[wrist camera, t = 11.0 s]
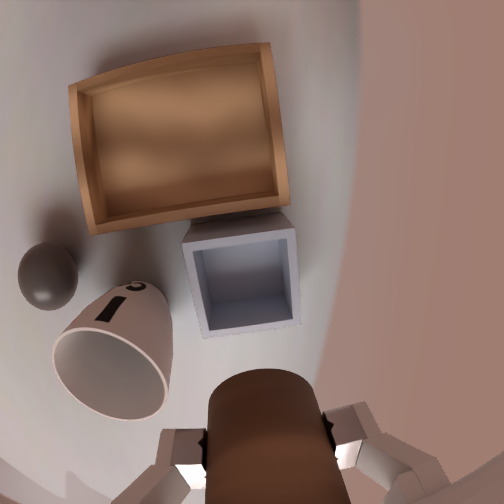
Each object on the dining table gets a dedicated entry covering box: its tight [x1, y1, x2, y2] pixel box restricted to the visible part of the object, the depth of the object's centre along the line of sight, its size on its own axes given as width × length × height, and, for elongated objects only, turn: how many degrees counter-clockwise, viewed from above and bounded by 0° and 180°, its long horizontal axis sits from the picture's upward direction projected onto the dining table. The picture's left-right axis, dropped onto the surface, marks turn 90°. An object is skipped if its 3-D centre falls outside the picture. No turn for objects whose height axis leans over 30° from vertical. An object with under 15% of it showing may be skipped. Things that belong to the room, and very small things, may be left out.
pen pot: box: [182, 213, 302, 338], centre depth 22 cm, size 7×7×5 cm
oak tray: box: [68, 42, 290, 236], centre depth 19 cm, size 11×14×4 cm
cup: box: [52, 281, 173, 421], centre depth 20 cm, size 8×8×10 cm
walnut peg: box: [205, 369, 351, 504], centre depth 7 cm, size 4×4×6 cm
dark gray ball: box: [18, 243, 78, 311], centre depth 21 cm, size 6×6×6 cm
